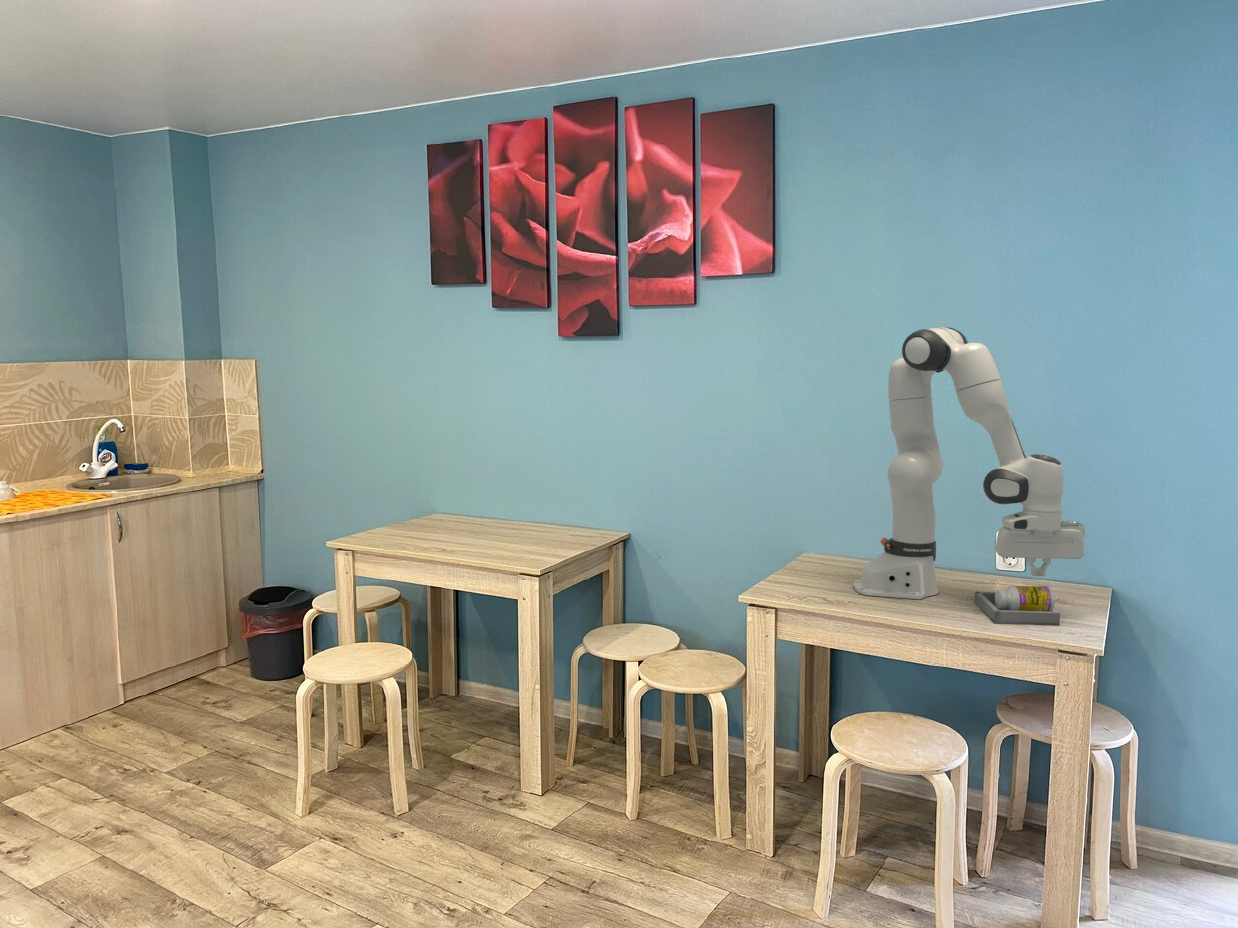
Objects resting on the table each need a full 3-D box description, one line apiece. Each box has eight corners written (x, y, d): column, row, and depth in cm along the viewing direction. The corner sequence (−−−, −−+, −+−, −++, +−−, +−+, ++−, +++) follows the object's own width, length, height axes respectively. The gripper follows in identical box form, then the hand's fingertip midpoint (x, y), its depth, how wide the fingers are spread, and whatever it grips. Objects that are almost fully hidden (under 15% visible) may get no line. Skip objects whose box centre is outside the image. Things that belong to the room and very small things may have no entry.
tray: (994, 623, 225) (995, 611, 225) (974, 602, 243) (975, 591, 242) (1059, 625, 223) (1060, 613, 223) (1034, 604, 241) (1035, 593, 241)
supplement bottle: (1058, 607, 228) (1005, 607, 228) (1047, 616, 233) (996, 616, 234) (1052, 581, 231) (1000, 582, 231) (1042, 591, 237) (991, 591, 237)
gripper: (1080, 519, 232) (1076, 573, 233) (995, 517, 234) (992, 571, 236) (1090, 524, 225) (1086, 579, 227) (1002, 522, 228) (999, 577, 229)
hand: (1037, 575), depth 231 cm, fingers closed
